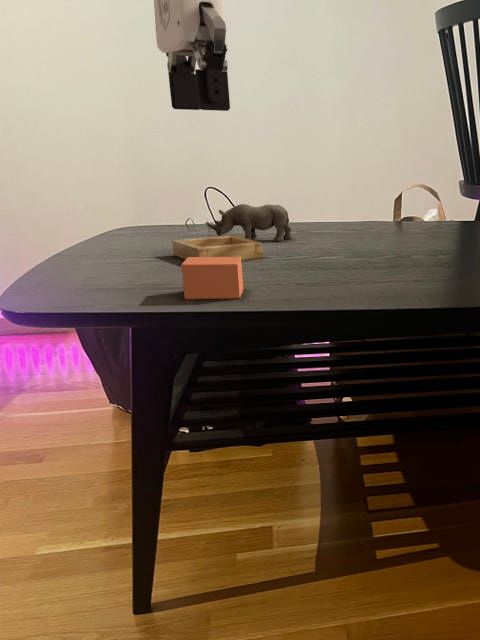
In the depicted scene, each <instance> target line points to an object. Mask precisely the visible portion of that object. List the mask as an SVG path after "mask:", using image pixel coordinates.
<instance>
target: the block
mask: <svg viewBox="0 0 480 640" xmlns="http://www.w3.org/2000/svg"><path fill="white" fill-rule="evenodd" d="M242 265H243V264H242V260H241V257H188V258H187V259H184V261H183V262H182V263H181V275H182V285H183V294H184V295H183V296H184V297H183V298H184V300H215V299H216V300H217V299H218V300H219V299H223V300H225V299H241V297H242V293H243V292H244V280H243V266H242Z"/></svg>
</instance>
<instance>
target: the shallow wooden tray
mask: <svg viewBox="0 0 480 640" xmlns="http://www.w3.org/2000/svg"><path fill="white" fill-rule="evenodd" d="M171 243H172V253H173V256H175V257H178V258H181V259H184V260H186V259H187V258H188V257H241V261H242V260H243V261H245V260H254V259H263V258H264V248H263V242H260V241H256V240H254V239H252V240H249V239H246V238H245V237H242V236H238V235H235V234H232V235H221V236H208V237H207V236H206V237H198V238H197V237H196V238H184V239H173V240H171Z"/></svg>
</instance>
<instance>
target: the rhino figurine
mask: <svg viewBox="0 0 480 640" xmlns="http://www.w3.org/2000/svg"><path fill="white" fill-rule="evenodd" d="M218 214H219V215H221V219H220V220H215V219H214V220H213V222H214V223H215V224H211V223H209V222H208V221H205V223H206V225H207V227H209V229H211V230H214V231H215V233H216V235H217V237H219V236H224V235H225V234H228V233H229V232H231V231H232V230H233V229H234V226H240V227H241V228H242V230H243V232H244V238H246V239H249V240H255V239H256V238H257V237H258V235H257V234H256V230H259V231H267V230H269V229H272V228H273V227H274V228H275V229H276V235H275V236H274V237H273V242H282V241H284V240H291V239H293V236H292V235H291V232H292V228H291V227H290V226H289V222H290V219H289V213H288V211H287V210H286V208H285V207H283V206H282V205H280V204H264V205H261V206H252V205H250V204H246V203H240V204H236V205H235V206H233V207H231V208H229V209H227V210H226V211H224V210H221V209H219V210H218Z"/></svg>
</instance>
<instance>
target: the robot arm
mask: <svg viewBox="0 0 480 640" xmlns="http://www.w3.org/2000/svg"><path fill="white" fill-rule="evenodd" d="M153 9H154V25H155V39H156V46H157V48H158V50H159V51H160V52H162V53H164V54H165V55H166V57H167V63H166V64H167V65H166V66H167V71H168V73H167V74H168V83H169V93H170V104H171V108H173V110H185V111H186V110H189V111H200V110H201V111H221V112H223V111H224V112H228V111H230V109H231V101H230V88H229V87H230V86H229V75H228V68H229V63H228V60H227V57H226V55H227V52H228V48H227V47H228V46H227V21H226V11H225V10H226V9H225V0H153ZM196 66H198V68H196Z"/></svg>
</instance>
